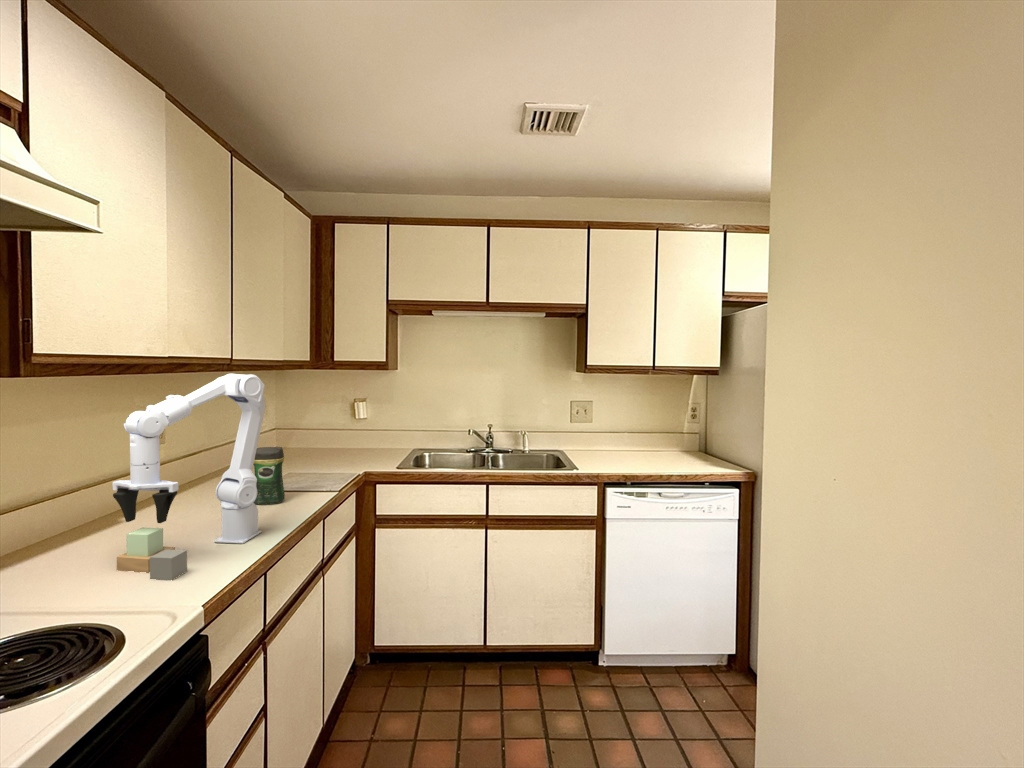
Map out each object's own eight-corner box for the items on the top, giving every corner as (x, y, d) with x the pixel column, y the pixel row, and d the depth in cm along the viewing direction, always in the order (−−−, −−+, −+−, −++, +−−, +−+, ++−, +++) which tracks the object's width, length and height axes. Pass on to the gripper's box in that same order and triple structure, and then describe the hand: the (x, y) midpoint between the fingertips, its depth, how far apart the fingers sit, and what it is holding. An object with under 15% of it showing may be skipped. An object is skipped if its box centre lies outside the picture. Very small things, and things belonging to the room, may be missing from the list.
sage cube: (143, 548, 129) (142, 527, 129) (163, 549, 129) (163, 528, 129) (126, 555, 124) (126, 534, 124) (147, 556, 124) (147, 534, 124)
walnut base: (145, 559, 132) (145, 545, 132) (175, 561, 131) (175, 547, 130) (116, 572, 124) (116, 556, 124) (148, 574, 123) (148, 559, 122)
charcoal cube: (166, 571, 124) (165, 549, 124) (187, 571, 124) (186, 550, 124) (150, 579, 119) (149, 557, 119) (172, 580, 119) (171, 558, 119)
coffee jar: (286, 498, 188) (286, 445, 187) (281, 504, 180) (281, 448, 179) (256, 499, 186) (255, 445, 185) (250, 505, 178) (249, 449, 177)
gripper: (101, 465, 122) (102, 525, 123) (163, 467, 122) (164, 527, 122) (125, 459, 129) (126, 516, 130) (184, 461, 129) (184, 518, 129)
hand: (146, 521), depth 127 cm, fingers open, 7 cm apart
